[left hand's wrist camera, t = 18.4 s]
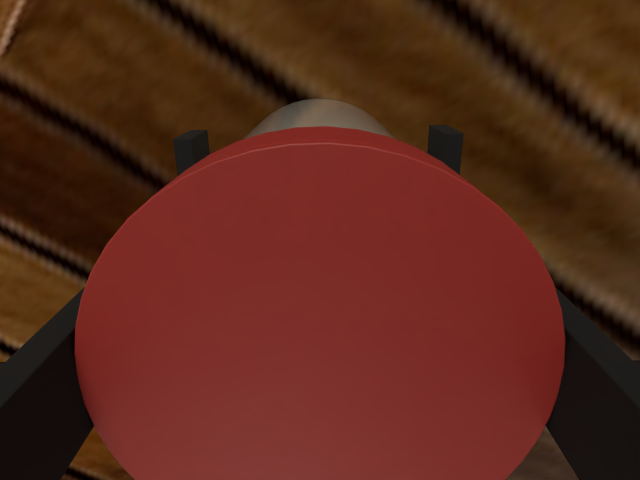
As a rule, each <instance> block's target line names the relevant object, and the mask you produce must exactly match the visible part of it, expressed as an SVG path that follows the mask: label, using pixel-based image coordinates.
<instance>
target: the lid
mask: <svg viewBox="0 0 640 480" xmlns="http://www.w3.org/2000/svg"><path fill="white" fill-rule="evenodd" d="M74 354H75V362H76V370H77V376H78V381H79V385H80V388H81V392H82V396H83V400H84V404H85V407H86V409H87V411H88V413H89V415H90V418H91V420H92V422H93V424H94V427H95V429H96V430H97V432H98V434H99V435H100V437H101V438H102V440H103V442H104V443H105V445H106V446H107V448H108V449H109V451H110V452H111V453H112V455H113V456H114V457H115V458H116V459H117V461H118V462H119V463H120V464H121V466H122V467H123V468H124V469H125V470H126V471H127V472H128V473H129V474H130V475H131V476H132V477H133V478H134V479H135V480H505V479H506V478H507V477H508V476H509V475H510V474H511V473H512V472H513V471H514V469H515V468H516V467H517V466H518V465H519V464H520V463H521V462H522V461H523V460H524V458H525V457H526V455H527V454H528V453H529V451H530V450H531V448H532V447H533V446H534V444H535V443H536V441H537V440H538V438H539V437H540V435H541V433H542V431H543V429H544V427H545V425H546V423H547V422H548V420H549V418H550V416H551V413H552V410H553V407H554V405H555V402H556V399H557V395H558V391H559V387H560V383H561V378H562V374H563V370H564V359H565V333H564V325H563V317H562V310H561V306H560V303H559V300H558V296H557V293H556V289H555V286H554V283H553V281H552V279H551V277H550V275H549V273H548V270H547V268H546V266H545V264H544V262H543V260H542V258H541V256H540V255H539V253H538V252H537V250H536V249H535V247H534V246H533V245H532V243H531V242H530V240H529V239H528V237H527V236H526V235H525V233H524V232H523V230H522V229H521V228H520V227H519V226H518V225H517V224H516V223H515V222H514V221H513V220H512V219H511V218H510V217H509V216H508V215H507V214H506V213H505V212H504V211H503V210H502V209H501V208H500V207H499V206H498V205H497V204H496V203H494V202H493V201H492V200H491V199H489V198H488V197H487V196H486V195H484V194H483V193H482V192H480V191H479V190H478V189H477V188H475V187H474V186H473V185H472V184H470V183H469V182H468V181H467V180H465V179H464V178H463V177H461V176H460V175H459V174H457V173H456V172H455V171H454V170H452V169H451V168H450V167H448V166H447V165H446V164H444V163H443V162H442V161H440V160H438V159H436V158H434V157H433V156H431V155H429V154H427V153H426V152H424V151H422V150H420V149H418V148H417V147H414V146H412V145H409V144H406V143H404V142H401V141H399V140H396V139H394V138H391V137H388V136H384V135H380V134H376V133H372V132H368V131H363V130H359V129H350V128H340V127H330V126H319V127H295V128H289V129H283V130H277V131H272V132H266V133H263V134H259V135H256V136H253V137H250V138H247V139H243V140H240V141H237V142H235V143H233V144H231V145H228V146H226V147H224V148H222V149H220V150H218V151H216V152H214V153H212V154H210V155H208V156H207V157H205V158H204V159H202V160H200V161H199V162H197V163H196V164H194V165H193V166H191V167H190V168H188V169H187V170H185V171H184V172H183V173H182V174H180V175H179V176H178V177H176V178H175V179H174V180H173V181H171V182H170V183H169V184H168V185H166V186H165V187H164V188H163V189H161V190H160V191H159V192H157V193H156V194H155V195H154V196H152V197H151V198H150V199H149V200H148V201H147V202H146V203H145V204H143V205H142V206H141V207H140V208H139V209H138V210H137V211H136V212H135V213H133V214H132V215H131V216H130V217H129V218H128V219H127V220H126V221H125V222H124V224H123V225H122V226H121V227H120V229H119V230H118V231H117V232H116V233H115V235H114V236H113V237H112V238H111V240H110V241H109V242H108V243H107V245H106V246H105V248H104V250H103V252H102V253H101V255H100V257H99V259H98V260H97V262H96V264H95V265H94V267H93V269H92V271H91V273H90V276H89V279H88V281H87V284H86V286H85V289H84V292H83V294H82V297H81V301H80V306H79V311H78V316H77V321H76V326H75V352H74Z"/></svg>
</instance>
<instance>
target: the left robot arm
mask: <svg viewBox="0 0 640 480" xmlns="http://www.w3.org/2000/svg"><path fill="white" fill-rule="evenodd" d="M84 289H85V287H84V288H83V289H82V290H81V291H80V292H79V293H78V294H77V295H76V296H75V297H74V298H73V299H72V300H71V301H69V302H68V303H67V304H66V305H65V306H64V307H63V308H62V309H61V310H60V311H59V312H58V313H57V314H56V315H55V316H54V317H53V318H52V319H50V320H49V321H48V322H47V323H46V324H45V325H44V326H43V327H42V328H41V329H40V330H39V331H38V332H37V333H36V334H35V335H34V336H33V337H31V338H30V339H29V340H28V341H27V342H26V343H25V344H24V345H23V346H22V347H21V348H20V349H19V350H18V351H17V352H16V353H15V354H13V355H12V356H11V357H10V358H9V359H8V360H7V361H6V362H0V480H60V479H61V478H62V476H63V475H64V473H65V471H66V470H67V468H68V467H69V465H70V463H71V462H72V460H73V459H74V457H75V455H76V454H77V452H78V451H79V449H80V447H81V446H82V444H83V443H84V441H85V439H86V438H87V436H88V435H89V433H90V431H91V430H92V428H93V427H94V424H93V422H92V420H91V418H90V415H89V413H88V411H87V409H86V407H85V404H84V400H83V396H82V392H81V388H80V385H79V381H78V376H77V370H76V362H75V354H74V352H75V326H76V321H77V316H78V311H79V306H80V301H81V297H82V294H83V292H84ZM555 289H556V293H557V296H558V300H559V303H560V306H561V310H562V317H563V325H564V333H565V359H564V370H563V374H562V378H561V383H560V387H559V391H558V395H557V399H556V402H555V405H554V407H553V410H552V413H551V416H550V418H549V420H548V422H547V423H546V427H547V429H548V430H549V432H550V433H551V435H552V437H553V438H554V440H555V441H556V443H557V445H558V446H559V448H560V449H561V451H562V453H563V454H564V456H565V457H566V459H567V461H568V462H569V464H570V465H571V467H572V469H573V470H574V472H575V473H576V475H577V477H578V478H579V480H640V361H633V360H631V359H630V358H629V357H628V356H627V355H626V354H625V353H624V352H623V351H622V350H621V349H620V348H619V347H618V346H617V345H616V344H615V343H614V342H612V341H611V340H610V339H609V338H608V337H607V336H606V335H605V334H604V333H603V332H602V331H601V330H600V329H599V328H598V327H597V326H596V325H595V324H593V323H592V322H591V321H590V320H589V319H588V318H587V317H586V316H585V315H584V314H583V313H582V312H581V311H580V310H579V309H578V308H577V307H576V306H574V305H573V304H572V303H571V302H570V301H569V300H568V299H567V298H566V297H565V296H564V295H563V294H562V293H561V292H560V291H559V290H558V289H557V288H555Z"/></svg>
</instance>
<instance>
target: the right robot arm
mask: <svg viewBox="0 0 640 480" xmlns="http://www.w3.org/2000/svg"><path fill="white" fill-rule="evenodd" d="M462 142H463V133H461V132H459V131H457V130H455V129H453V128H451V127H449V126H447V125H429V139H428V154H429V155H431V156H433V157H434V158H436V159H438V160H440V161H442V162H443V163H444V164H446V165H447V166H448V167H450V168H451V169H452V170H454V171H455V172H456V173H457V174H459V173H460V163H461V153H462ZM173 143H174V150H175V158H176V165H177V172H178V176H179V175H180V174H182V173H183V172H184V171H185V170H187V169H188V168H190V167H191V166H193V165H194V164H196V163H197V162H199V161H200V160H202V159H204V158H205V157H207V156H208V155H210V152H209V143H208V134H207V130H191V131H189V132H187V133H185V134H183V135H181V136H179V137H177V138H175V139H173Z"/></svg>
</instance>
